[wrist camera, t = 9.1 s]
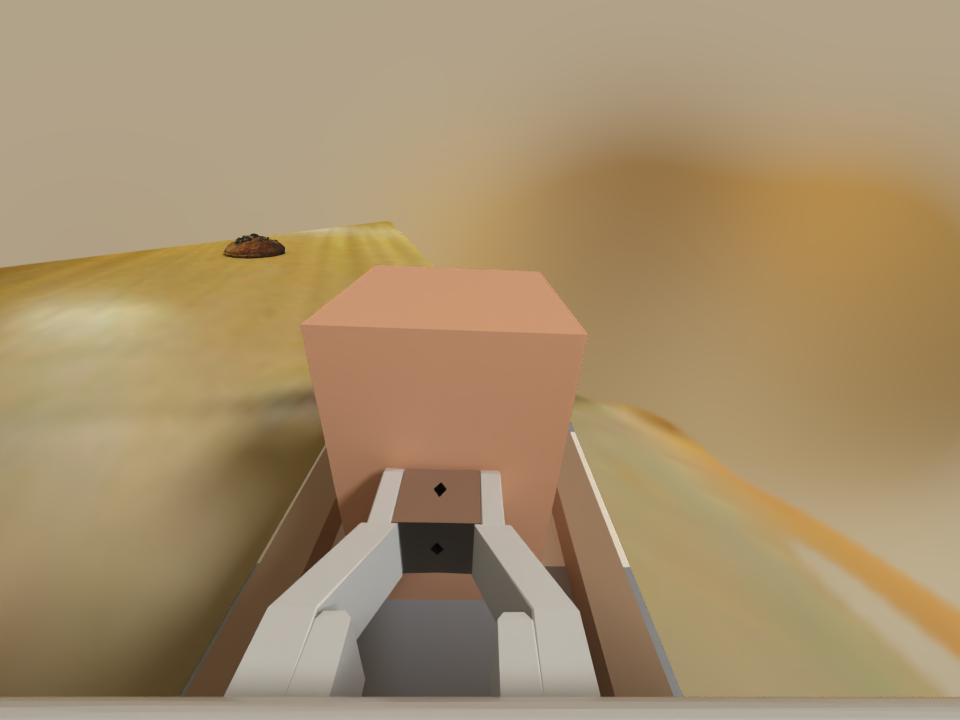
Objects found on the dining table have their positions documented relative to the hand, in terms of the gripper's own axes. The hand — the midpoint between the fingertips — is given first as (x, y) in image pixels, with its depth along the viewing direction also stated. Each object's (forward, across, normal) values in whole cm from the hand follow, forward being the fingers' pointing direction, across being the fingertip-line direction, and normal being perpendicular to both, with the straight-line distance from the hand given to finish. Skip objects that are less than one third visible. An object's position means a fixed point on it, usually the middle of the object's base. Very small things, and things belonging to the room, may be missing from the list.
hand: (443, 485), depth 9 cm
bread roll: (+69, +46, +8) cm, 83 cm away
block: (+3, 0, +6) cm, 6 cm away
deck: (0, 0, +8) cm, 8 cm away
